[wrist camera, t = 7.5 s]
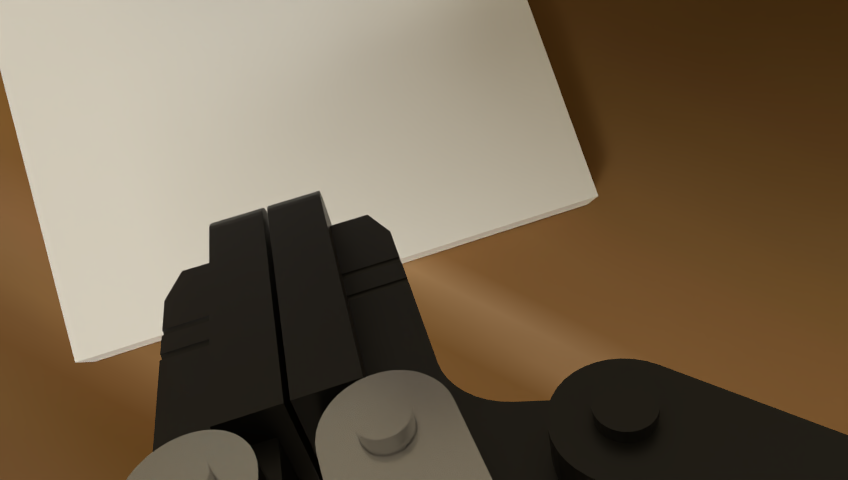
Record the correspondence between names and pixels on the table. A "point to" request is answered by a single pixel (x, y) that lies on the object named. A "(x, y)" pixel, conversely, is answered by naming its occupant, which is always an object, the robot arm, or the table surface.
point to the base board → (272, 132)
